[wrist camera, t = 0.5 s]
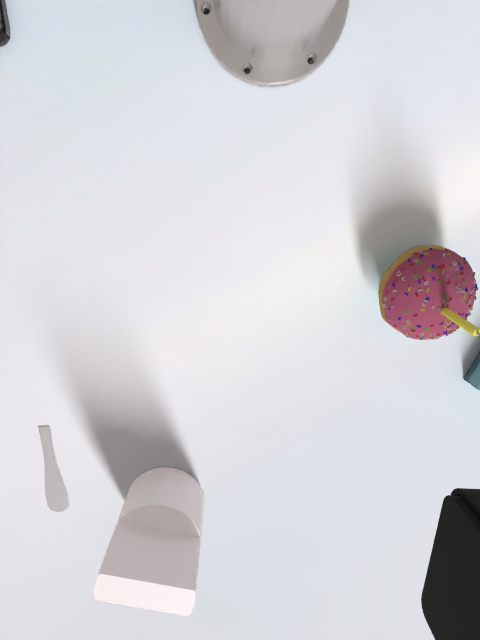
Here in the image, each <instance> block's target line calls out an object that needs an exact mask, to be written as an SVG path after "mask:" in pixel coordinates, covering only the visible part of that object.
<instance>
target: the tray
mask: <svg viewBox="0 0 480 640" xmlns="http://www.w3.org/2000/svg"><path fill="white" fill-rule="evenodd" d="M464 380H466V381H467V382H468V383H470V384H471V385H472V386H474V387H475V388H476V389H478V390H480V352H479V354H478V356H477V357H476V359H475V361H474V362H473V364H472V366H471V367H470V369H469V371H468V373H467V374H466V376H465V378H464Z"/></svg>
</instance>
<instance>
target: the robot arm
mask: <svg viewBox="0 0 480 640" xmlns="http://www.w3.org/2000/svg"><path fill="white" fill-rule="evenodd" d="M196 7H197V16H198V20H199V25H200V29H201V31H202V34H203V37H204V39H205V42H206V44H207V46H208V47H209V49H210V51H211V53H212V54H213V56H214V57H215V58H216V59H217V61H218V62H219V63H220V64H221V65H222V67H223V68H225V69H226V70H227V71H228V72H230V73H231V74H232V75H233V76H235V77H237V78H239V79H241V80H242V81H244V82H246V83H250V84H253V85H257V86H261V87H278V86H285V85H289V84H292V83H294V82H297V81H300V80H301V79H303V78H305V77H306V76H308V75H309V74H311V73H313V72H314V71H315V70H316V69H317V68H318V67H319V66H320V65H321V64H322V63H323V62H324V61H325V59H326V58H327V57H328V55H329V54H330V53H331V51H332V50H333V48H334V47H335V45H336V43H337V41H338V40H339V37H340V35H341V33H342V30H343V28H344V25H345V21H346V17H347V13H348V8H349V0H196ZM206 10H208V11H209V12H210V13H209V14H208V15H205V14H204V11H206ZM308 59H311V60H312V61H313V64H309V63H308ZM245 69H249V70H250V73H249V74H246V73H245V72H244V70H245ZM421 601H422V609H423V613H424V616H425V619H426V621H427V623H428V625H429V627H430V629H431V631H432V634H433V636H434V638H435V640H480V489H461V488H457V489H454V490H453V491H452V493H451V496H450V495H449V496H446V497H445V498H444V501H443V505H442V509H441V513H440V518H439V522H438V527H437V531H436V535H435V540H434V544H433V548H432V553H431V557H430V562H429V566H428V570H427V575H426V579H425V583H424V588H423V592H422V598H421Z"/></svg>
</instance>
